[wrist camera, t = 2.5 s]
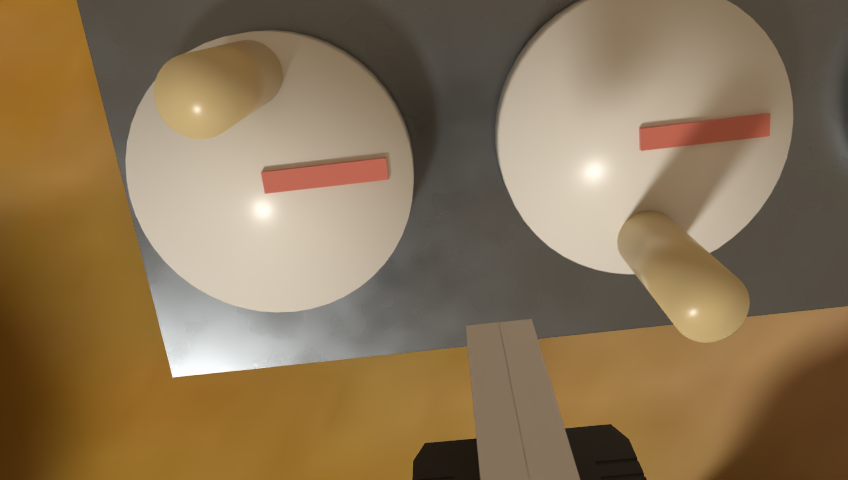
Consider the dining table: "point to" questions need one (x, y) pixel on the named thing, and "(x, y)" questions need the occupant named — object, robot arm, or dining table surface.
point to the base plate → (476, 181)
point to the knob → (270, 170)
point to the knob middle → (648, 145)
